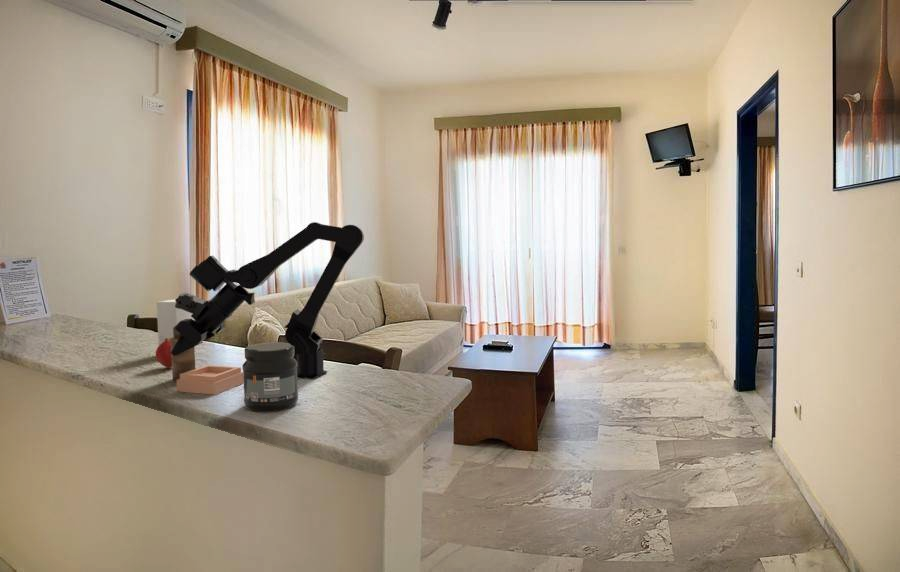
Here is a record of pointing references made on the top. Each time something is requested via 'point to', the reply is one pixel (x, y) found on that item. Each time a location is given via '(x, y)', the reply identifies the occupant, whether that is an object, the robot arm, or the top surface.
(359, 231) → the robot arm
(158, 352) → the onion
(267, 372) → the supplement container
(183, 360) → the pepper mill
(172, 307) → the skincare box
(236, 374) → the mill holder
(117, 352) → the top surface
